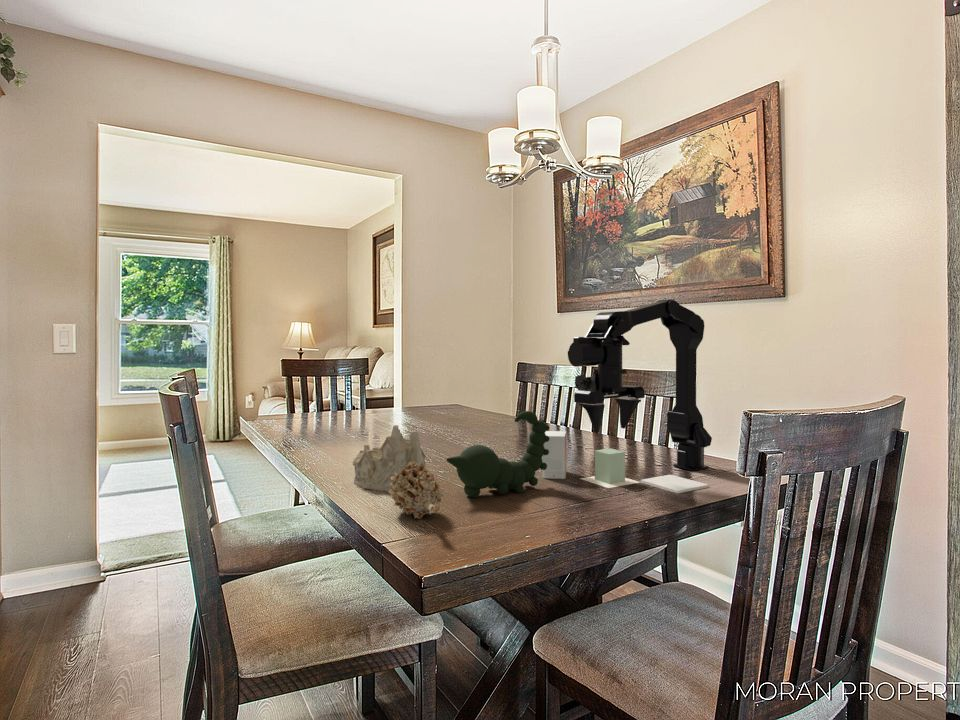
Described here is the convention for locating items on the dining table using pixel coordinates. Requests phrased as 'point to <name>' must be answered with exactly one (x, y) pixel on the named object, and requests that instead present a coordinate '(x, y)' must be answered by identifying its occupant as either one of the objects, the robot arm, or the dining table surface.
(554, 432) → the small box
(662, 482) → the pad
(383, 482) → the ceramic cottage
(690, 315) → the robot arm
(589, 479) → the tile
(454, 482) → the dining table surface
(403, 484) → the pine cone
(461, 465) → the toy figurine
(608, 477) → the sage block
